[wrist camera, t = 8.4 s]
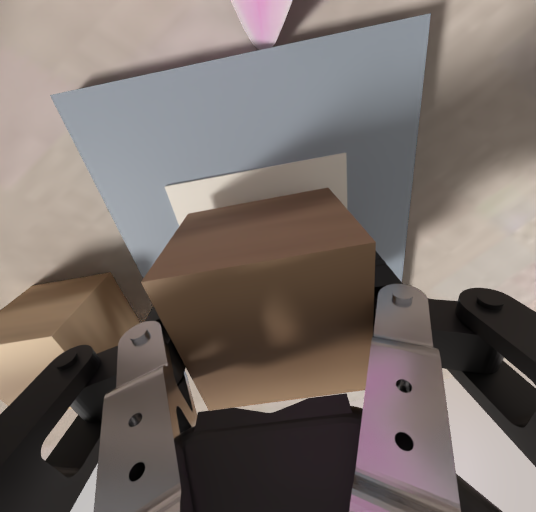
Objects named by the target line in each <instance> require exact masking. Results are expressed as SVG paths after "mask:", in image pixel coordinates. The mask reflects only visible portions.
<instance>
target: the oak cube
mask: <svg viewBox="0 0 536 512" xmlns="http://www.w3.org/2000/svg"><path fill="white" fill-rule="evenodd" d="M137 324H140V322H139V320H138V318H137V317H136V315H135V313H134V311H133V310H132V308H131V306H130V305H129V303H128V301H127V299H126V298H125V296H124V294H123V293H122V291H121V289H120V288H119V286H118V284H117V282H116V281H115V279H114V277H113V276H112V274H111V272H109V273H103V274H97V275H92V276H86V277H80V278H74V279H68V280H63V281H57V282H51V283H45V284H39V285H34V286H31V287H30V288H29V289H27V290H26V291H25V292H23V293H22V294H21V295H20V296H18V297H17V298H16V299H14V300H13V301H12V302H11V303H9V304H8V305H7V306H5V307H4V308H3V309H2V310H0V400H2V401H3V402H4V403H5V404H6V405H8V406H9V405H10V404H11V403H12V402H13V401H14V400H15V399H16V398H17V397H18V396H19V395H20V394H21V393H22V392H23V391H24V390H25V389H26V388H27V387H28V385H29V384H30V383H31V382H32V381H33V380H34V379H35V378H36V377H37V376H38V375H39V374H40V373H41V372H42V371H43V370H44V369H45V368H46V367H47V366H48V365H49V364H50V363H51V362H52V361H53V360H54V359H55V358H56V357H57V356H59V355H60V354H62V353H63V352H65V351H67V350H69V349H71V348H73V347H76V346H79V345H89V346H91V347H92V348H93V350H94V351H95V352H96V354H97V353H100V352H102V351H105V350H107V349H110V348H113V347H115V346H118V343H119V340H120V339H121V337H122V336H123V335H124V334H125V333H126V332H127V331H128V330H129V329H131V328H132V327H134V326H135V325H137ZM68 409H72V408H71V407H69V408H68Z"/></svg>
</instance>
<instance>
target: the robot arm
mask: <svg viewBox="0 0 536 512" xmlns="http://www.w3.org/2000/svg"><path fill="white" fill-rule="evenodd" d="M503 358H506V359H507V360H508V361H509V362H510V363H512V364H513V365H514V366H515V367H516V368H518V369H519V370H520V371H521V372H523V373H524V374H525V375H526V376H527V377H528V378H529V379H531V380H532V381H533V382H534V384H535V385H536V312H535V311H533V310H531V309H530V308H528V307H527V306H525V305H523V304H522V303H520V302H518V301H517V300H515V299H514V298H512V297H510V296H508V295H506V294H504V293H502V292H499V291H496V290H492V289H486V288H471V289H467V290H464V291H463V292H461V293H460V295H459V299H458V301H447V300H434V299H428V298H427V296H426V295H425V294H424V293H423V292H422V291H421V290H419V289H418V288H416V287H413V286H410V285H406V284H403V283H402V282H401V281H400V280H399V278H398V277H397V276H396V275H395V274H394V272H393V271H392V270H391V269H390V267H389V266H388V265H387V264H386V262H385V261H384V260H383V259H382V258H381V256H380V255H379V254H378V253H377V251H376V252H375V283H374V315H373V336H372V340H371V348H370V356H369V364H368V372H367V380H366V388H365V396H364V405H363V409H362V408H359V407H354V406H350V404H349V400H348V397H347V394H339V395H331V396H323V397H315V398H308V399H306V400H303V401H301V402H299V403H296V404H294V405H291V406H289V407H286V408H284V409H281V410H279V411H276V412H274V413H264V412H258V411H251V410H245V409H238V408H228V409H220V410H212V411H204V412H198V415H197V413H196V409H195V405H194V401H193V398H192V394H191V390H190V386H189V382H188V378H187V375H186V373H185V368H186V366H185V364H184V363H183V361H182V359H181V357H180V355H179V353H178V351H177V349H176V348H175V346H174V344H173V342H172V340H171V338H170V336H169V334H168V332H167V331H166V329H165V327H164V325H163V323H162V321H161V319H160V317H159V316H158V314H157V312H156V310H155V308H154V306H153V308H152V310H151V312H150V313H149V315H148V317H147V319H146V321H145V322H142V323H140V324H137V325H135V326H134V327H132V328H131V329H129V330H128V331H127V332H126V333H125V334H124V335H123V336H122V337H121V339H120V340H119V343H118V346H115V347H113V348H110V349H107V350H105V351H102V352H100V353H97V354H96V352H95V351H94V350H93V348H92V347H91V346H89V345H79V346H76V347H73V348H71V349H69V350H67V351H65V352H63V353H62V354H60V355H59V356H57V357H56V358H55V359H54V360H53V361H52V362H51V363H50V364H49V365H48V366H47V367H46V368H45V369H44V370H43V371H42V372H41V373H40V374H39V375H38V376H37V377H36V378H35V379H34V380H33V381H32V382H31V383H30V384H29V385H28V387H27V388H26V389H25V390H24V391H23V392H22V393H21V394H20V395H19V396H18V397H17V398H16V399H15V400H14V401H13V402H12V403H11V404H10V405H9V406H8V407H7V408H6V409H5V410H4V411H3V412H2V413H1V414H0V512H70V511H71V509H72V507H73V505H74V503H75V502H76V500H77V498H78V496H79V495H80V493H81V491H82V489H83V488H84V486H85V484H86V482H87V481H88V479H89V477H90V475H91V474H92V471H93V470H94V468H95V467H96V465H97V463H98V469H97V480H96V493H95V503H94V512H502V511H501V510H500V509H499V508H497V507H496V506H495V505H494V504H492V503H491V502H490V501H489V500H488V499H486V498H485V497H484V496H483V495H481V494H480V493H479V492H478V491H476V490H475V489H474V488H473V487H472V486H471V485H469V484H468V483H467V482H466V481H464V480H463V479H462V478H461V477H460V476H458V475H457V474H456V471H455V463H454V456H453V449H452V441H451V434H450V426H449V418H448V411H447V403H446V396H445V389H444V381H443V373H442V368H445V369H447V370H448V371H449V372H450V373H451V374H452V375H453V376H454V377H455V379H456V380H457V381H458V382H459V383H460V384H461V385H462V386H463V387H464V388H465V390H466V391H467V392H468V393H469V394H470V395H471V396H472V397H473V398H474V399H475V400H476V402H478V404H479V405H480V406H481V407H482V408H483V409H484V410H485V412H487V414H488V415H489V416H490V417H491V418H492V419H493V420H494V421H495V422H496V423H497V425H498V426H499V427H500V428H501V429H502V430H503V431H504V432H505V434H506V435H507V436H508V437H509V438H510V439H511V440H512V441H513V442H514V443H515V445H516V446H517V447H518V448H519V449H520V450H521V451H522V452H523V453H524V454H525V456H526V457H527V458H528V459H529V460H530V461H531V462H532V463H533V464H534V465H535V467H536V388H534V387H533V386H532V385H531V384H530V383H529V382H527V381H526V380H525V379H524V378H523V377H522V376H520V375H519V374H518V373H517V372H516V371H515V370H513V369H512V368H511V367H510V366H509V365H507V364H506V363H505V362H504V361H503ZM69 407H71V408H72V409H73V410H74V411H75V412H76V413H77V414H78V416H77V417H76V419H75V420H74V422H73V423H72V424H71V426H70V427H69V429H68V430H67V431H66V433H65V434H64V436H63V437H62V438H61V440H60V441H59V443H58V444H57V445H56V447H55V448H54V450H53V451H52V452H51V454H50V455H49V457H48V458H47V459H46V461H44V460H43V459H42V457H41V447H42V444H43V442H44V440H45V439H46V437H47V436H48V434H49V433H50V432H51V430H52V429H53V428H54V427H55V425H56V424H57V423H58V421H59V420H60V419H61V417H62V416H63V415H64V413H65V412H66V411H67V410H68V408H69Z"/></svg>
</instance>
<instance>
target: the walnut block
mask: <svg viewBox="0 0 536 512" xmlns="http://www.w3.org/2000/svg"><path fill="white" fill-rule="evenodd" d="M375 252H376V242H375V241H374V239H373V238H372V237H371V236H370V235H369V234H368V233H367V231H366V230H365V229H364V228H363V227H362V226H361V225H360V223H359V222H358V221H357V220H356V219H355V218H354V216H353V215H352V214H351V213H350V212H349V211H348V210H347V208H346V207H345V206H344V205H343V204H342V203H341V201H340V200H339V199H338V198H337V197H336V196H335V195H334V193H333V192H332V191H331V190H330V189H329V188H323V189H317V190H312V191H306V192H301V193H296V194H290V195H285V196H280V197H274V198H269V199H264V200H258V201H253V202H248V203H242V204H237V205H232V206H226V207H221V208H216V209H210V210H205V211H200V212H194V213H189V214H188V215H187V216H186V217H185V219H184V220H183V222H182V223H181V225H180V226H179V228H178V229H177V230H176V232H175V233H174V235H173V236H172V238H171V239H170V241H169V242H168V244H167V245H166V246H165V248H164V249H163V251H162V252H161V254H160V255H159V257H158V258H157V259H156V261H155V262H154V264H153V265H152V267H151V268H150V270H149V271H148V273H147V274H146V275H145V277H144V278H143V280H142V281H141V284H142V285H143V287H144V289H145V291H146V293H147V295H148V297H149V299H150V301H151V302H152V304H153V306H154V308H155V310H156V312H157V314H158V316H159V317H160V319H161V321H162V323H163V325H164V327H165V329H166V331H167V332H168V334H169V336H170V338H171V340H172V342H173V344H174V346H175V348H176V349H177V351H178V353H179V355H180V357H181V359H182V361H183V363H184V364H185V366H186V368H187V370H188V372H189V374H190V376H191V378H192V380H193V381H194V383H195V385H196V387H197V389H198V391H199V393H200V395H201V396H202V398H203V400H204V402H205V404H206V406H207V408H208V410H209V411H210V410H217V409H225V408H233V407H240V406H248V405H255V404H263V403H270V402H278V401H285V400H293V399H300V398H308V397H316V396H323V395H331V394H338V393H346V392H353V391H361V390H365V388H366V380H367V372H368V364H369V356H370V348H371V340H372V336H373V315H374V283H375Z"/></svg>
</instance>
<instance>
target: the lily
mask: <svg viewBox="0 0 536 512" xmlns="http://www.w3.org/2000/svg"><path fill="white" fill-rule="evenodd" d="M231 2H232V5H233V7H234V9H235V11H236V13H237V15H238V18H239V20H240V22H241V24H242V26H243V28H244V30H245V32H246V34H247V36H248V37H249V39H250V41H251V43H252V44H253V45H254V46H255V47H256V48H257V49H258V50H262V49H267V48H272V47H273V46H274V44H275V43H276V40H277V38H278V36H279V33H280V31H281V29H282V26H283V24H284V21H285V19H286V16H287V14H288V11H289V8H290V6H291V3H292V0H231Z"/></svg>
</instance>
